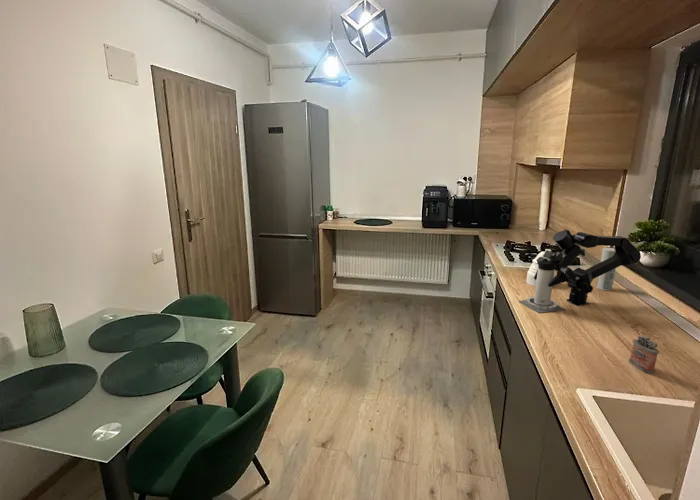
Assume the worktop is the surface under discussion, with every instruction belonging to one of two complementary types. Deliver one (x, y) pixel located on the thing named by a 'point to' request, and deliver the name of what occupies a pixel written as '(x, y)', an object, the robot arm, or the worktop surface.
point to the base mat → (541, 310)
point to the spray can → (607, 279)
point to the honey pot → (535, 269)
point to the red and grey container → (644, 354)
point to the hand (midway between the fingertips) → (541, 282)
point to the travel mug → (544, 283)
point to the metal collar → (547, 308)
